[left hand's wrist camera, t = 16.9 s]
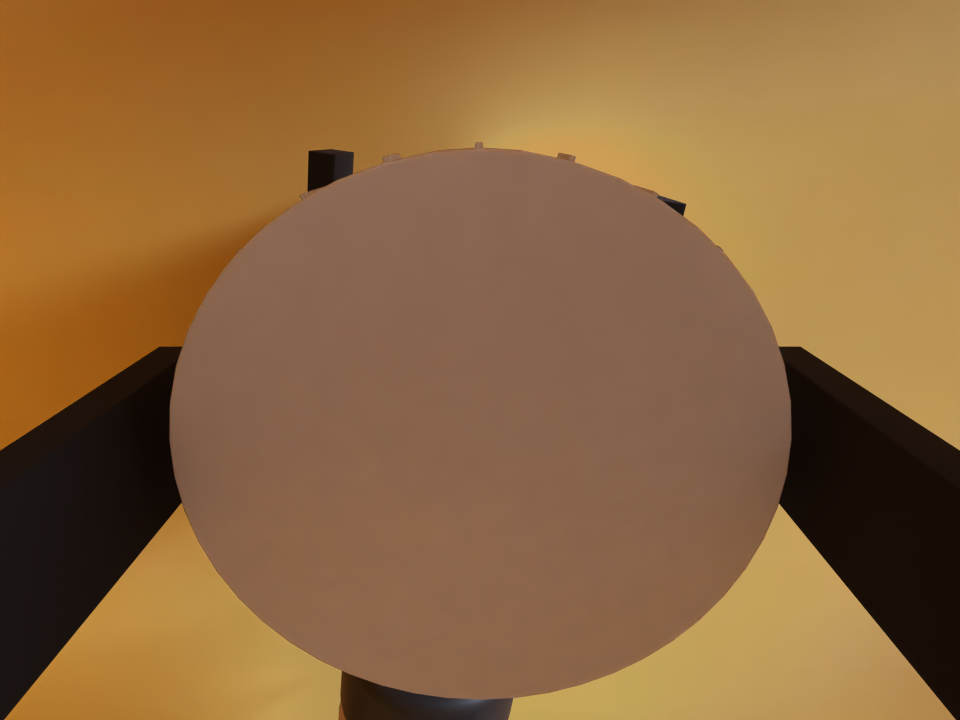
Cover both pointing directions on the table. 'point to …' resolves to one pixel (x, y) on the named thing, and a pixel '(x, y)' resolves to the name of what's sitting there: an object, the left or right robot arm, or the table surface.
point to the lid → (480, 423)
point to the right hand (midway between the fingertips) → (498, 175)
